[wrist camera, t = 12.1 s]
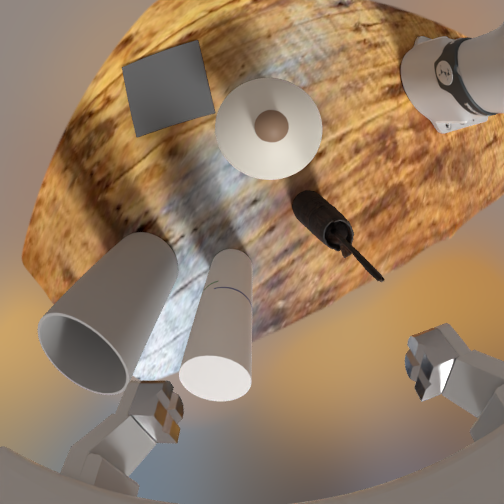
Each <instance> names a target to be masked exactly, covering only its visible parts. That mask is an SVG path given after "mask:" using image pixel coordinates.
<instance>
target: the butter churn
mask: <svg viewBox="0 0 504 504" xmlns="http://www.w3.org/2000/svg"><path fill="white" fill-rule="evenodd" d="M292 209H293V212H294V214H295V216H296V218H297V219H298V220H299V221H300V222H301V223H302V224H303V225H304V226H305V227H307V228H308V230H310V231H311V232H312V233H313V234H314V235H315V236H316V237H317V238H318V239H319V240H320V241H322V242H323V243H324V244H325V245H326V246H328V247H329V248H331V249H335V250H336V251H340V250H341V251H342V255H343V256H344V258H346V257H348V256H349V255H351V254H353V255H354V256H355V257H356V259H357V260H358V261H359V262H360V263H361V264H362V265H363V267H364V268H365V269H366V270H367V271H368V272H369V273H370V274H371V275H372V276H373V277H374V278H375V279H376V280H377V281H380V282H383V281H384V278H383V277H382V275H381V274H380V273H379V272H378V271H377V270H376V269H375V268H374V267H373V266H372V265H371V264H370V263H369V262H368V261H367V260H366V259H365V258H364V257H363V256H362V255H361V254H360V253H359V251H357V250H356V249H355V248H354V247H353V246H352V241H353V236H354V232H353V230H352V227H351V225H350V223H349V221H347V219H346V218H345V217H344V216H343V215H342V214H341V213H340V212H339V211H338V210H337V209H336V208H335V207H334V206H332V205H331V204H329V203H328V202H327V201H326V200H325V199H324V198H323V197H321V196H320V195H319V194H318V193H316V192H314V191H304V192H302V193H300V194H299V195H298V196H297V197H296V198H295V200H294V202H293V205H292Z"/></svg>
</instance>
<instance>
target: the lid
mask: <svg viewBox="0 0 504 504" xmlns="http://www.w3.org/2000/svg"><path fill="white" fill-rule="evenodd" d="M215 133H216V139H217V142H218V146H219V148H220V150H221V152H222V154H223V155H224V157H225V158H226V159H227V161H228V162H229V163H230V164H231V165H232V166H233V167H235V168H236V169H237V170H239V171H240V172H242V173H244V174H246V175H248V176H251V177H254V178H258V179H265V180H275V179H281V178H285V177H288V176H291V175H293V174H295V173H297V172H299V171H300V170H302V169H303V168H304V167H305V166H306V165H307V164H308V163H310V161H311V160H312V159H313V157H314V156H315V154H316V153H317V151H318V148H319V146H320V142H321V138H322V121H321V117H320V113H319V111H318V109H317V106H316V105H315V103H314V101H313V100H312V99H311V98H310V96H309V95H308V94H307V93H306V92H305V91H304V90H302V89H301V88H300V87H298V86H296V85H295V84H293V83H290V82H288V81H285V80H282V79H277V78H259V79H254V80H251V81H248V82H246V83H243V84H242V85H240V86H238V87H237V88H235V89H234V90H233V91H232V92H231V93H230V94H229V95H228V96H227V97H226V98H225V99H224V101H223V103H222V104H221V106H220V108H219V111H218V113H217V117H216V123H215Z"/></svg>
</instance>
